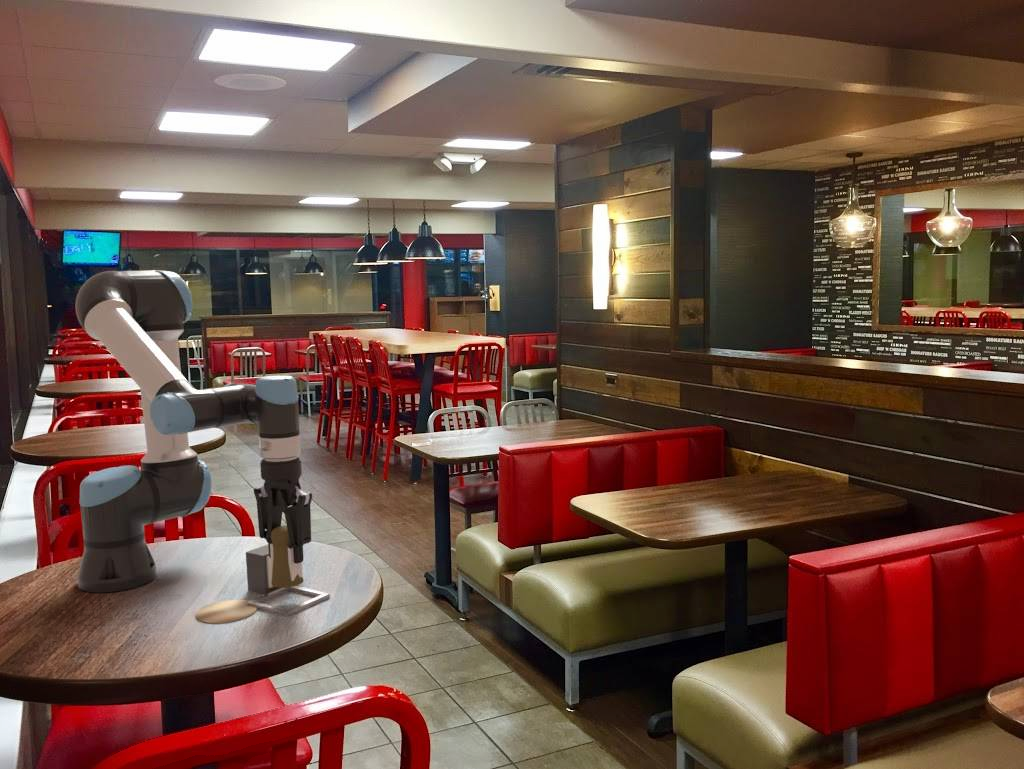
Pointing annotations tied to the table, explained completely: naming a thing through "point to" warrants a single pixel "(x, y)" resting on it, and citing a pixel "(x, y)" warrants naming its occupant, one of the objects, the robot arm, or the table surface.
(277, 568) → the pepper shaker
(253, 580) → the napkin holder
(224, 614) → the tan round coaster
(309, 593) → the taupe square frame
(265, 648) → the table surface
